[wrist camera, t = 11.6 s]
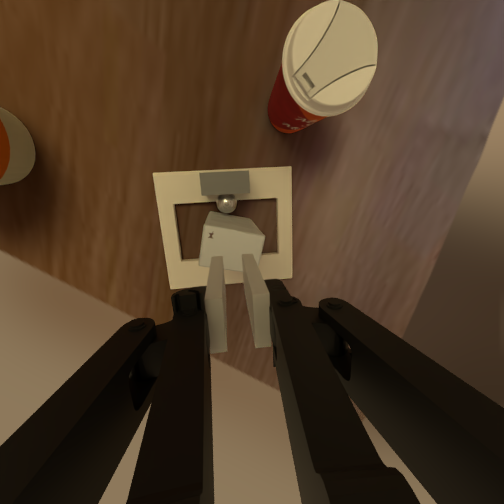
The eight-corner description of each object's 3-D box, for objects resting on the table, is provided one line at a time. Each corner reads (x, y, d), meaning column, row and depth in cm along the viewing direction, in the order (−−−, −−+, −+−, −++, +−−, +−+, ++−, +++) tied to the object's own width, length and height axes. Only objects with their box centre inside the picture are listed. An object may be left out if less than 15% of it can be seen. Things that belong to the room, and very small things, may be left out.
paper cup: (284, 154, 33) (326, 133, 20) (246, 105, 31) (264, 44, 17) (329, 114, 32) (404, 62, 19) (294, 60, 30) (350, -40, 17)
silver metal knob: (214, 176, 31) (213, 175, 28) (234, 175, 31) (235, 174, 28) (217, 212, 32) (216, 215, 29) (237, 211, 32) (238, 213, 30)
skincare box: (205, 239, 35) (195, 266, 23) (209, 210, 34) (202, 222, 22) (246, 246, 36) (257, 275, 24) (252, 218, 35) (266, 234, 23)
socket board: (154, 173, 32) (140, 170, 26) (289, 166, 33) (301, 163, 28) (171, 286, 36) (163, 303, 31) (290, 275, 38) (301, 290, 32)
